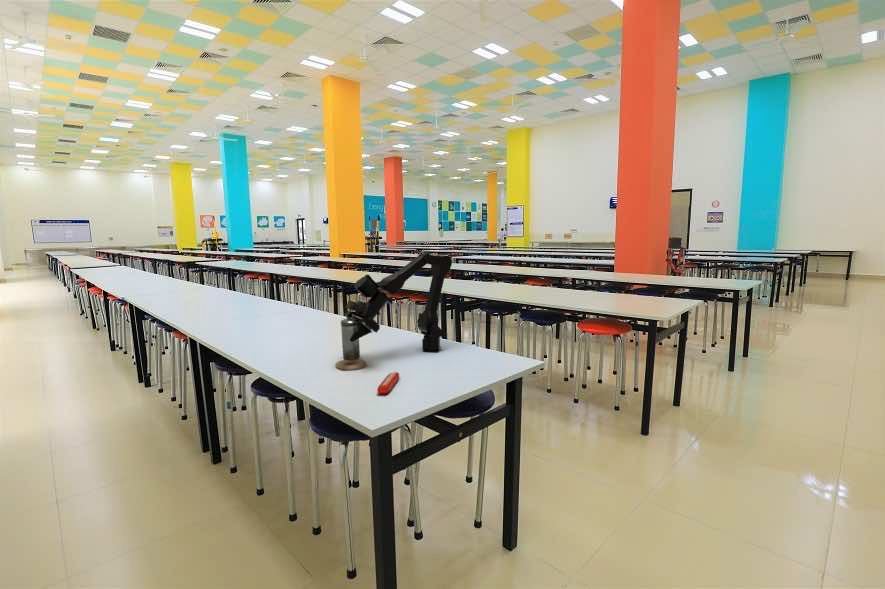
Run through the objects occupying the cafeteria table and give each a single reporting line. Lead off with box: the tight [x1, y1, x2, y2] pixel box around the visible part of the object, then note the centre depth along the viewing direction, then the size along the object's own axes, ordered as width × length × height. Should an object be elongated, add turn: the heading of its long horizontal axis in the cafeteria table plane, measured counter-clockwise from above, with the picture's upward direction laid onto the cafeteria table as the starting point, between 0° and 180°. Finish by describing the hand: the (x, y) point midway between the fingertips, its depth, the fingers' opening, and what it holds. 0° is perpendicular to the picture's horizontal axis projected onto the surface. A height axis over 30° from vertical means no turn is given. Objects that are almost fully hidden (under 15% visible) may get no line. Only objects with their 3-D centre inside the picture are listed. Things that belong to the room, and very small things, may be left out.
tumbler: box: [340, 318, 361, 361], centre depth 154 cm, size 6×6×14 cm
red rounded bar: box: [376, 371, 400, 396], centre depth 134 cm, size 16×4×3 cm, turn 172°
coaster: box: [335, 358, 368, 372], centre depth 155 cm, size 11×11×1 cm
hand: (347, 339), depth 153 cm, fingers closed on tumbler, 6 cm apart
